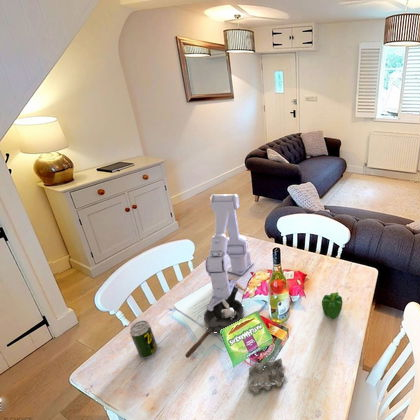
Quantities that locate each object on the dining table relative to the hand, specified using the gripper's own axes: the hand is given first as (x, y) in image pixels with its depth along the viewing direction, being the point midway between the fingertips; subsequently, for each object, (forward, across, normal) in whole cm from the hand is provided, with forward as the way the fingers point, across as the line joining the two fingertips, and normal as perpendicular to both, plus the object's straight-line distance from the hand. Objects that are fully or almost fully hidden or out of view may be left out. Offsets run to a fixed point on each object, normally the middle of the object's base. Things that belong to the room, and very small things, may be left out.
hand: (225, 310), depth 105 cm
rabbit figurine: (+2, 0, 0) cm, 2 cm away
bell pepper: (+3, -16, +39) cm, 42 cm away
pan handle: (+1, +14, +1) cm, 14 cm away
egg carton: (+3, +16, +28) cm, 32 cm away
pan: (+3, +2, +1) cm, 3 cm away
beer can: (+3, +22, -14) cm, 26 cm away
